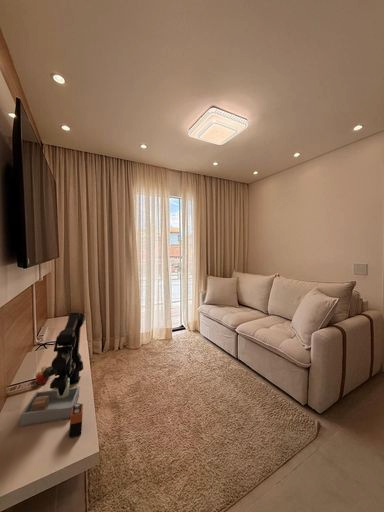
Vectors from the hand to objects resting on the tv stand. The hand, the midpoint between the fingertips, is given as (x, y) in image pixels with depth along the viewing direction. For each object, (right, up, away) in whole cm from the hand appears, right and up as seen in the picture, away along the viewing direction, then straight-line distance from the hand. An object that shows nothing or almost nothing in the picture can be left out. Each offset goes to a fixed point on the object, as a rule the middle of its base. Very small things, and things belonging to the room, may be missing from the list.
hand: (63, 391), depth 101 cm
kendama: (-27, -8, +24) cm, 37 cm away
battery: (+13, -8, -13) cm, 20 cm away
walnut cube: (-9, -7, -3) cm, 12 cm away
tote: (-4, -8, -1) cm, 9 cm away
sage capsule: (0, -2, 0) cm, 2 cm away
